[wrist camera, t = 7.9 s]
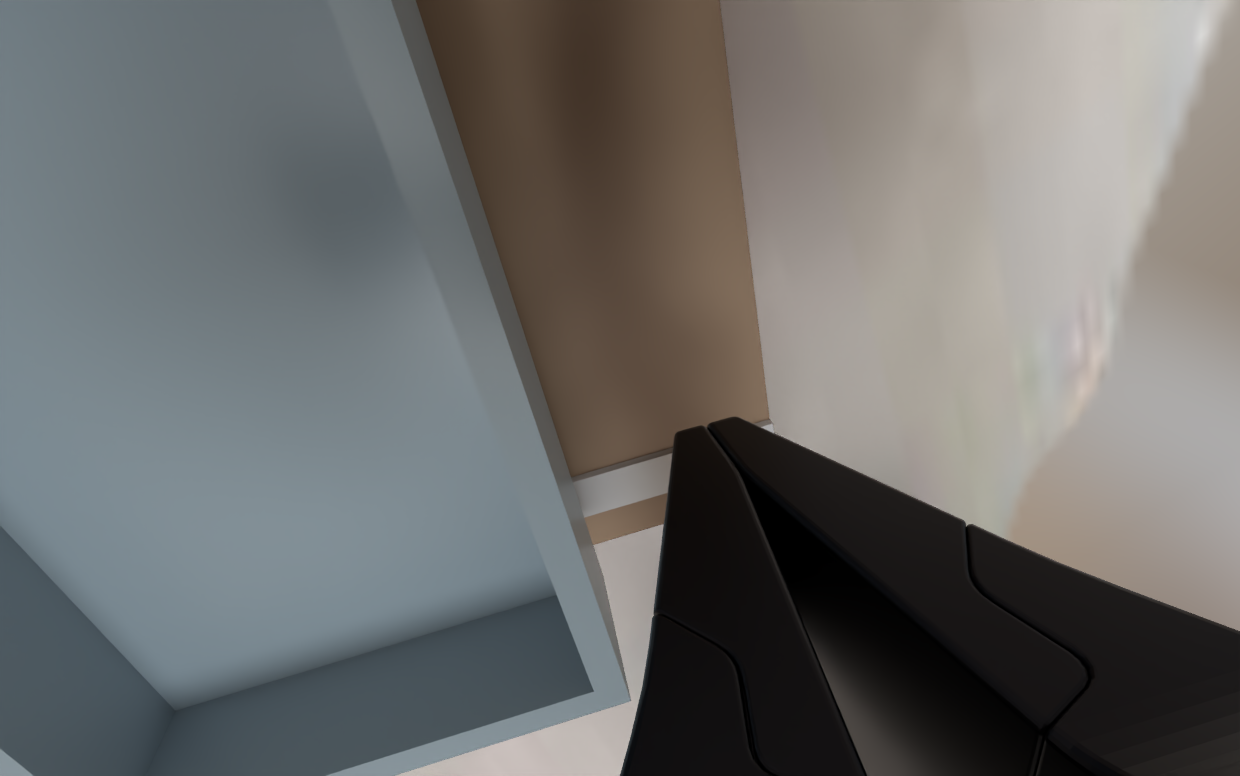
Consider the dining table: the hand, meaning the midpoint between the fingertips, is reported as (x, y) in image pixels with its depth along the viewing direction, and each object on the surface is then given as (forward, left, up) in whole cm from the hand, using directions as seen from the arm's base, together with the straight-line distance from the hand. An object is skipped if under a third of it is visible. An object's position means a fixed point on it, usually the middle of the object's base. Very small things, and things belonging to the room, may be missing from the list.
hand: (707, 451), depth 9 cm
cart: (+9, 0, -11) cm, 14 cm away
